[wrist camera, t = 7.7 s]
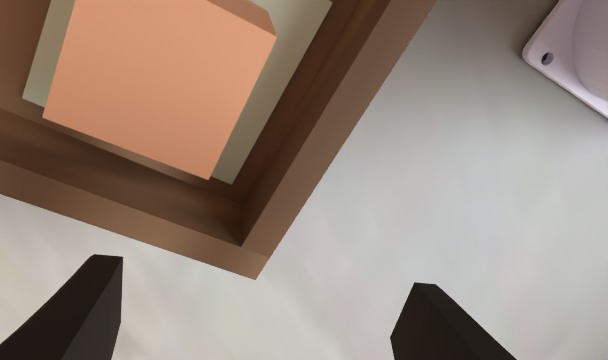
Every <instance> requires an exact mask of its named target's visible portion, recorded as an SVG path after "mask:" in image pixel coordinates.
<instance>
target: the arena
mask: <svg viewBox="0 0 608 360" xmlns="http://www.w3.org/2000/svg"><path fill="white" fill-rule="evenodd" d="M249 1H250V2H252V3H254V4H256V5H258V6H260V7H262V8H263V9H265V10H267V11H268V13H269V16H270V19H271V21H272V24H273V27H274V29H275V32H276V35H277V39H276V41H275V43H274V45H273V47H272V50H271V52H270V54H269V56H268V58H267V60H266V62H265V64H264V66H263V68H262V70H261V72H260V74H259V76H258V79H257V81H256V83H255V85H254V87H253V89H252V91H251V93H250V95H249V97H248V99H247V101H246V103H245V105H244V108H243V110H242V112H241V114H240V116H239V118H238V120H237V122H236V124H235V126H234V128H233V130H232V132H231V134H230V137H229V139H228V141H227V143H226V145H225V147H224V149H223V151H222V153H221V155H220V157H219V159H218V161H217V163H216V166H215V168H214V170H213V172H212V174H211V176H210V178H209V180H207V179H204V178H201V177H199V176H196V175H193V174H191V173H188V172H186V171H183V170H180V169H178V168H175V167H172V166H170V165H167V164H164V163H162V162H159V161H156V160H154V159H151V158H148V157H146V156H143V155H140V154H138V153H135V152H132V151H130V150H127V149H124V148H122V147H119V146H116V145H114V144H111V143H108V142H106V141H103V140H101V139H98V138H95V137H93V136H90V135H87V134H85V133H82V132H79V131H77V130H74V129H71V128H69V127H66V126H63V125H61V124H58V123H55V122H53V121H50V120H47V119H45V118H42V117H43V113H44V109H45V106H46V102H47V99H48V95H49V92H50V88H51V85H52V81H53V78H54V74H55V70H56V67H57V63H58V60H59V56H60V53H61V49H62V46H63V42H64V39H65V35H66V31H67V28H68V24H69V21H70V17H71V14H72V10H73V7H74V3H75V0H0V194H2V195H5V196H8V197H11V198H14V199H17V200H20V201H23V202H26V203H29V204H32V205H35V206H38V207H41V208H44V209H47V210H50V211H53V212H55V213H58V214H61V215H64V216H67V217H70V218H73V219H76V220H79V221H82V222H85V223H88V224H91V225H94V226H97V227H100V228H103V229H106V230H109V231H112V232H115V233H118V234H121V235H124V236H127V237H129V238H132V239H135V240H138V241H141V242H144V243H147V244H150V245H153V246H156V247H159V248H162V249H165V250H168V251H171V252H174V253H177V254H180V255H183V256H186V257H189V258H192V259H195V260H198V261H201V262H203V263H206V264H209V265H212V266H215V267H218V268H221V269H224V270H227V271H230V272H233V273H236V274H239V275H242V276H245V277H248V278H251V279H254V280H256V278H257V277H258V275H259V274H260V272H261V271H262V269H263V267H264V266H265V264H266V263H267V261H268V260H269V258H270V257H271V255H272V254H273V252H274V250H275V249H276V247H277V246H278V244H279V243H280V241H281V240H282V238H283V237H284V235H285V234H286V232H287V230H288V229H289V227H290V226H291V224H292V223H293V221H294V220H295V218H296V217H297V215H298V213H299V212H300V210H301V209H302V207H303V206H304V204H305V203H306V201H307V200H308V198H309V197H310V195H311V193H312V192H313V190H314V189H315V187H316V186H317V184H318V183H319V181H320V180H321V178H322V176H323V175H324V173H325V172H326V170H327V169H328V167H329V166H330V164H331V163H332V161H333V159H334V158H335V156H336V155H337V153H338V152H339V150H340V149H341V147H342V146H343V144H344V143H345V141H346V139H347V138H348V136H349V135H350V133H351V132H352V130H353V129H354V127H355V126H356V124H357V122H358V121H359V119H360V118H361V116H362V115H363V113H364V112H365V110H366V109H367V107H368V106H369V104H370V102H371V101H372V99H373V98H374V96H375V95H376V93H377V92H378V90H379V89H380V87H381V85H382V84H383V82H384V81H385V79H386V78H387V76H388V75H389V73H390V72H391V70H392V68H393V67H394V65H395V64H396V62H397V61H398V59H399V58H400V56H401V55H402V53H403V52H404V50H405V48H406V47H407V45H408V44H409V42H410V41H411V39H412V38H413V36H414V35H415V33H416V31H417V30H418V28H419V27H420V25H421V24H422V22H423V21H424V19H425V18H426V16H427V15H428V13H429V11H430V10H431V8H432V7H433V5H434V4H435V2H436V1H437V0H249Z"/></svg>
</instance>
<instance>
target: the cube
mask: <svg viewBox="0 0 608 360" xmlns="http://www.w3.org/2000/svg"><path fill="white" fill-rule="evenodd" d="M276 39H277V35H276V32H275V29H274V27H273V24H272V21H271V19H270V16H269V13H268V11H267V10H265V9H263V8H262V7H260V6H258V5H256V4H254V3H252V2H250V1H249V0H75V3H74V7H73V10H72V14H71V17H70V21H69V24H68V28H67V31H66V35H65V39H64V42H63V46H62V49H61V53H60V56H59V60H58V63H57V67H56V70H55V74H54V78H53V81H52V85H51V88H50V92H49V95H48V99H47V102H46V106H45V109H44V113H43V117H42V118H45V119H47V120H50V121H53V122H55V123H58V124H61V125H63V126H66V127H69V128H71V129H74V130H77V131H79V132H82V133H85V134H87V135H90V136H93V137H95V138H98V139H101V140H103V141H106V142H108V143H111V144H114V145H116V146H119V147H122V148H124V149H127V150H130V151H132V152H135V153H138V154H140V155H143V156H146V157H148V158H151V159H154V160H156V161H159V162H162V163H164V164H167V165H170V166H172V167H175V168H178V169H180V170H183V171H186V172H188V173H191V174H193V175H196V176H199V177H201V178H204V179H207V180H209V178H210V176H211V174H212V172H213V170H214V168H215V166H216V163H217V161H218V159H219V157H220V155H221V153H222V151H223V149H224V147H225V145H226V143H227V141H228V139H229V137H230V134H231V132H232V130H233V128H234V126H235V124H236V122H237V120H238V118H239V116H240V114H241V112H242V110H243V108H244V105H245V103H246V101H247V99H248V97H249V95H250V93H251V91H252V89H253V87H254V85H255V83H256V81H257V79H258V76H259V74H260V72H261V70H262V68H263V66H264V64H265V62H266V60H267V58H268V56H269V54H270V52H271V50H272V47H273V45H274V43H275V41H276Z"/></svg>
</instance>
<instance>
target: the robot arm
mask: <svg viewBox="0 0 608 360" xmlns="http://www.w3.org/2000/svg"><path fill="white" fill-rule="evenodd" d="M545 53H548V56H547V58H546V60H545V61H544V62H542V63H541V59H542V57H543V55H544V54H545ZM522 56H523V59H524V60H525V62H527V63H528V64H530V65H531V66H532V67H534V68H535V69H537V70H538V71H540V72H541V73H543V74H544V75H545V76H547V77H548V78H550V79H551V80H553V81H554V82H556V83H557V84H558V85H560V86H561V87H563V88H564V89H566V90H567V91H568V92H570V93H571V94H573V95H574V96H576V97H577V98H579V99H580V100H581V101H583V102H584V103H586V104H587V105H589V106H590V107H592V108H593V109H594V110H596V111H597V112H599V113H600V114H602V115H603V116H604V117H606V118H607V119H608V0H559V2H558V3H557V4H556V6H555V7H554V8H553V10H552V11H551V12H550V14H549V15H548V16H547V18H546V19H545V20H544V21H543V23H542V24H541V25H540V27H539V28H538V29H537V31H536V32H535V33H534V35H533V36H532V37H531V39H530V40H529V41H528V43H527V44H526V45H525V47H524V49H523V53H522ZM122 272H123V257H120V256H108V255H97V254H94V255H92V256H91V257H89V258H88V259H87V260H86V262H85V263H84V264H83V265H82V266H81V267H80V268H79V269H78V270H77V271H76V272H75V274H74V275H73V276H72V277H71V278H70V279H69V280H68V281H67V282H66V283H65V284H64V285H63V286H62V287H61V288H60V289H59V290H58V291H57V292H56V293H55V294H54V295H53V296H52V297H51V298H50V299H49V300H48V301H47V302H46V303H45V304H44V305H43V306H42V307H41V308H40V309H39V310H38V311H37V312H35V313H34V314H33V315H32V316H31V317H30V318H29V319H28V320H27V321H26V322H25V323H24V324H23V325H22V326H21V327H19V328H18V329H17V330H16V331H15V332H14V333H13V334H12V335H10V336H9V337H8V338H7V339H6V340H5V341H3V342H2V343H1V344H0V360H111V358H112V354H113V350H114V347H115V343H116V339H117V335H118V331H119V327H120V323H121V299H122ZM390 339H391V344H392V349H393V354H394V359H395V360H517V359H516V358H514V357H513V356H512V355H511V354H510V353H509V352H508V351H507V350H506V349H505V348H503V347H502V346H501V345H500V344H499V343H498V342H497V341H496V340H495V339H494V338H493V337H492V336H491V335H490V334H488V333H487V332H486V331H485V330H484V329H483V328H482V327H481V326H480V325H479V324H478V323H477V322H476V321H475V320H474V319H473V318H472V317H471V316H470V315H469V314H467V313H466V312H465V311H464V310H463V309H462V308H461V307H460V306H459V305H458V304H457V303H456V302H455V301H454V300H453V299H452V298H451V297H449V296H448V295H447V294H446V293H445V292H444V291H443V290H442V289H440V288H439V287H438V286H437V285H436V284H426V283H415V282H414V285H413V287H412V289H411V291H410V294H409V296H408V298H407V300H406V303H405V305H404V307H403V310H402V312H401V314H400V316H399V319H398V321H397V323H396V325H395V328H394V330H393V332H392V335H391V337H390Z"/></svg>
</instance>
